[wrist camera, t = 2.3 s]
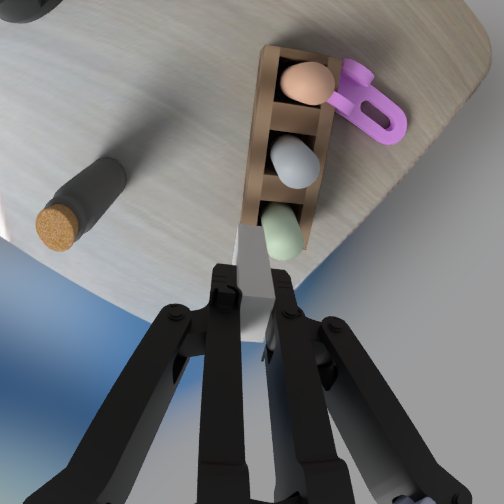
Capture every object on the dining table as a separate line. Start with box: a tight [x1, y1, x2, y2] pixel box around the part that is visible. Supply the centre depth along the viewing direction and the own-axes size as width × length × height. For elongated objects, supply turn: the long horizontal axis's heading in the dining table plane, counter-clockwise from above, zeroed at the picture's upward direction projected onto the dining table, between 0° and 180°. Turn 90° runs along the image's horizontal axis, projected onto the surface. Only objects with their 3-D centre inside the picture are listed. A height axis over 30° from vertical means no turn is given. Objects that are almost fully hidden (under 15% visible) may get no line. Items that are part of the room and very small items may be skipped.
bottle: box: [36, 158, 126, 252], centre depth 31 cm, size 6×6×15 cm
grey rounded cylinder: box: [270, 135, 320, 189], centre depth 30 cm, size 4×4×6 cm
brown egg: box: [279, 62, 335, 105], centre depth 25 cm, size 4×4×6 cm
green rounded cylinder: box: [261, 201, 304, 260], centre depth 34 cm, size 4×4×6 cm
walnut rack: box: [240, 45, 343, 250], centre depth 34 cm, size 23×8×6 cm, turn 173°
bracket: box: [326, 58, 407, 145], centre depth 30 cm, size 13×6×7 cm, turn 61°
